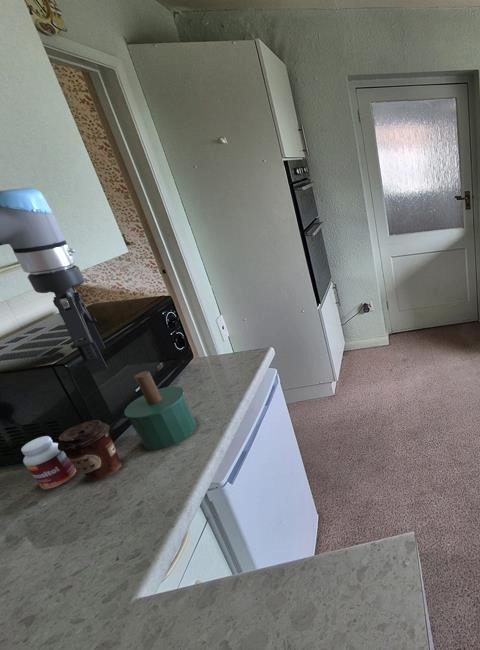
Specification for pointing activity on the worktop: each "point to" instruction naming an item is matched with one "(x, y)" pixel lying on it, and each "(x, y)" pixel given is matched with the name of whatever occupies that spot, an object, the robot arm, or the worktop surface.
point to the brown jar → (90, 449)
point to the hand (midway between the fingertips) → (98, 360)
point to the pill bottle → (47, 462)
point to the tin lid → (152, 398)
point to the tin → (165, 427)
